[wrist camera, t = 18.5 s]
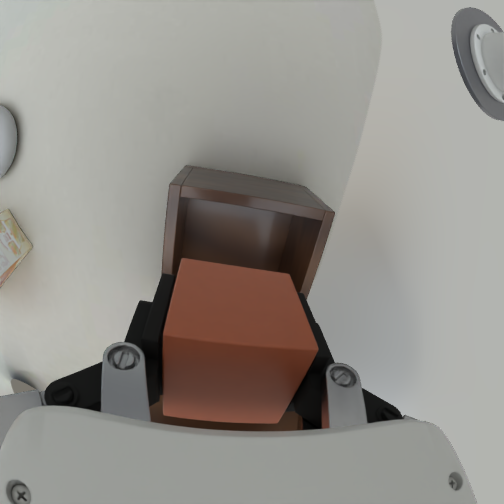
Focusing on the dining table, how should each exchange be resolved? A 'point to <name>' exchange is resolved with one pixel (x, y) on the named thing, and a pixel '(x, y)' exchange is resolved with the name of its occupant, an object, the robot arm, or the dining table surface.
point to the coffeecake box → (11, 245)
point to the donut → (7, 139)
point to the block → (233, 344)
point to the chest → (245, 224)
